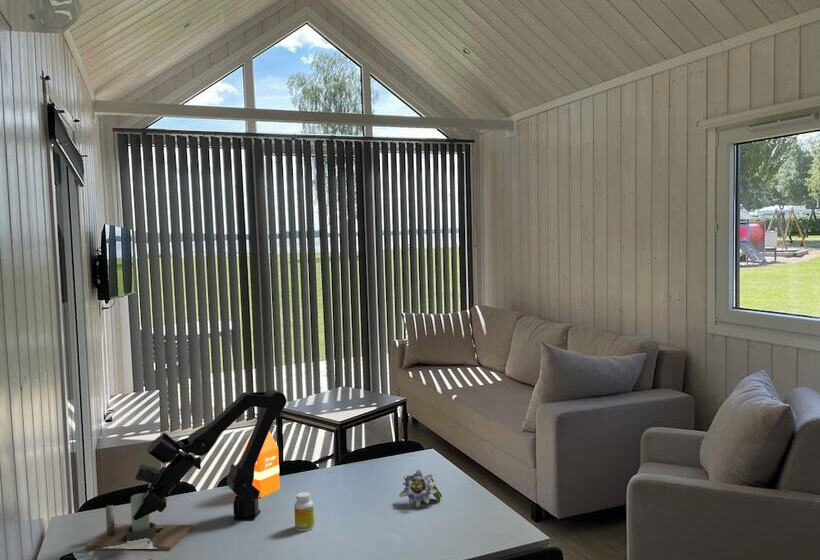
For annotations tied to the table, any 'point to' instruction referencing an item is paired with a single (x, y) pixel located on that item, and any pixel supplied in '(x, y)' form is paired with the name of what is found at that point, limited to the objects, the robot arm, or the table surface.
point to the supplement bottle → (304, 512)
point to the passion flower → (420, 488)
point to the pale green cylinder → (143, 522)
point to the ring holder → (139, 534)
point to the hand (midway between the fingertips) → (134, 516)
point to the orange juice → (267, 468)
